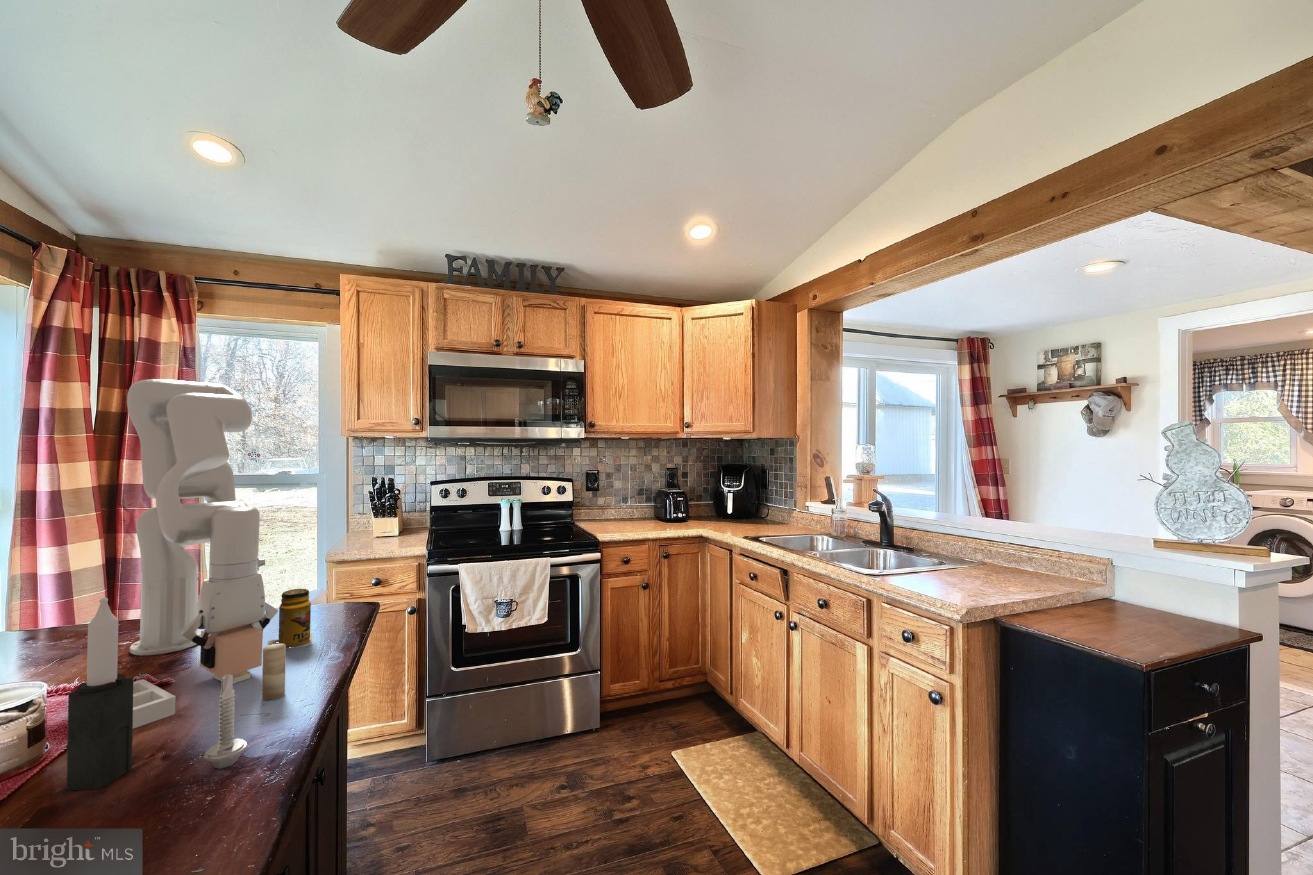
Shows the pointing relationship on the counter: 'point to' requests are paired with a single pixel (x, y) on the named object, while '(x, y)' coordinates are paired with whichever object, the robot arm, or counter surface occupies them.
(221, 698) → the screw
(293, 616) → the condiment
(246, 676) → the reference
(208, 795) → the counter surface
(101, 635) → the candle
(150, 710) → the socket board
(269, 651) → the pin
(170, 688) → the counter surface
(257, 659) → the block
